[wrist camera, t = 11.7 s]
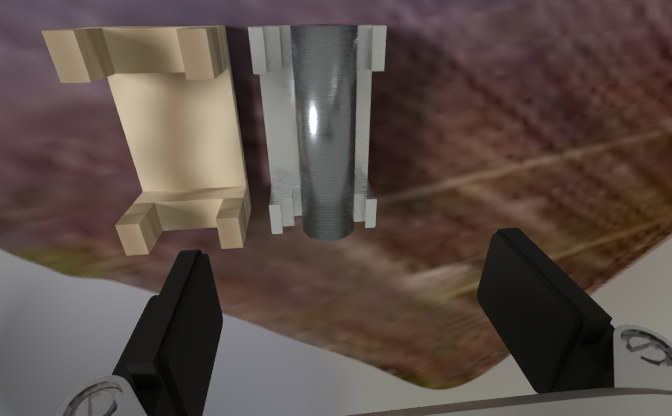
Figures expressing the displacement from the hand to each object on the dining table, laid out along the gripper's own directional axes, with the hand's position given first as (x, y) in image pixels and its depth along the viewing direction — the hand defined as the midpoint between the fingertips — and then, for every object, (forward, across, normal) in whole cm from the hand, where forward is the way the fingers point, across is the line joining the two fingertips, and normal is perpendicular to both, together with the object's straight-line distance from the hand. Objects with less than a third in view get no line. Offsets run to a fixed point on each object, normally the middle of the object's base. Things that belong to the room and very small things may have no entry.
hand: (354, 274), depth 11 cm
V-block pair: (+18, 0, 0) cm, 18 cm away
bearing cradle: (+18, +10, 0) cm, 21 cm away
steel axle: (+16, 0, 0) cm, 16 cm away
